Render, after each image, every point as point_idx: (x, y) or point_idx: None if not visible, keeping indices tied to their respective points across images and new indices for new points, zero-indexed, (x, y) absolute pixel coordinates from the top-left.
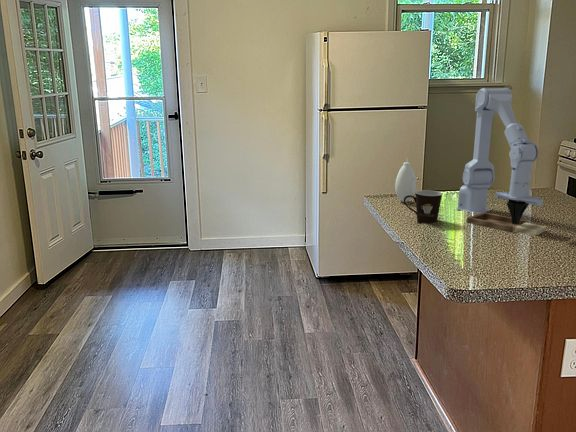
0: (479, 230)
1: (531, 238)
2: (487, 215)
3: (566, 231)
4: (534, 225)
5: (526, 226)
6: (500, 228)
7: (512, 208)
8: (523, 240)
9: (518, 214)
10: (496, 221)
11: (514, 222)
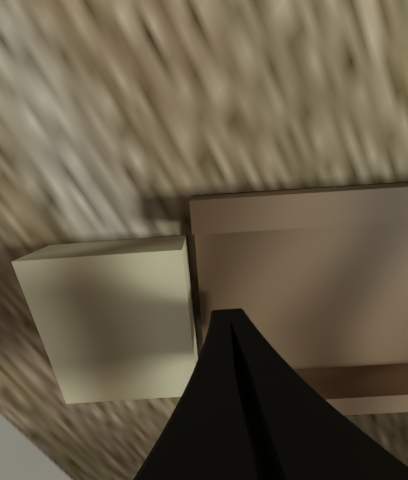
0: (401, 87)
1: (46, 206)
2: None
3: (51, 439)
4: (121, 376)
5: (137, 321)
6: (276, 192)
7: (311, 471)
8: (36, 108)
9: (189, 386)
10: (368, 344)
11: (225, 316)
